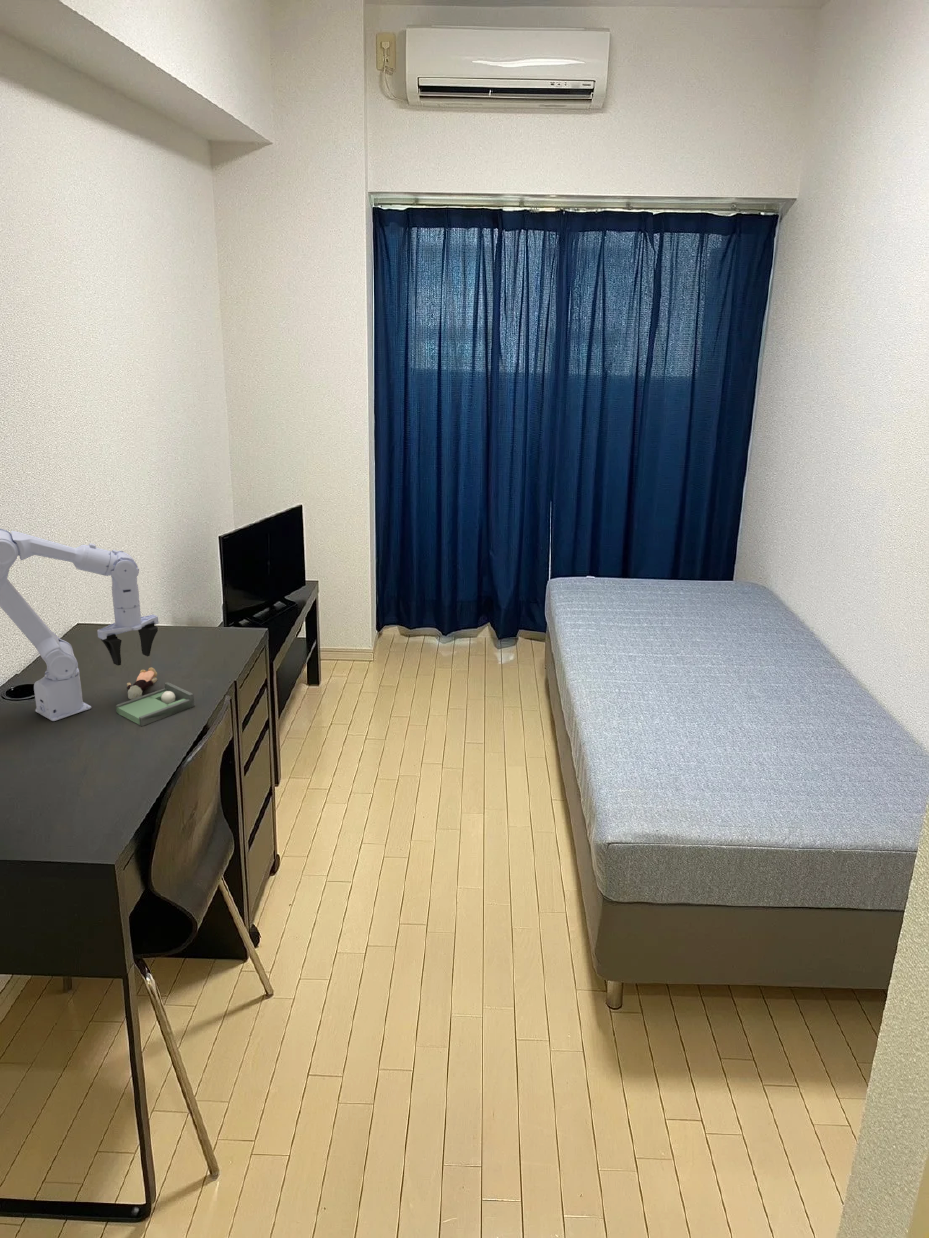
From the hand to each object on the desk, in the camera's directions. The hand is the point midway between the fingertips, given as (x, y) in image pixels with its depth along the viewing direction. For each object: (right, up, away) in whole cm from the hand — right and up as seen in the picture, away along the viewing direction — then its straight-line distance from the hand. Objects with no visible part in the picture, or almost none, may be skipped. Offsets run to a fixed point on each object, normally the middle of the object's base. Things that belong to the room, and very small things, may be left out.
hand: (131, 659), depth 213 cm
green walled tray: (+6, -12, -2) cm, 13 cm away
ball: (+8, -9, 0) cm, 12 cm away
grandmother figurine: (0, -4, +13) cm, 14 cm away
